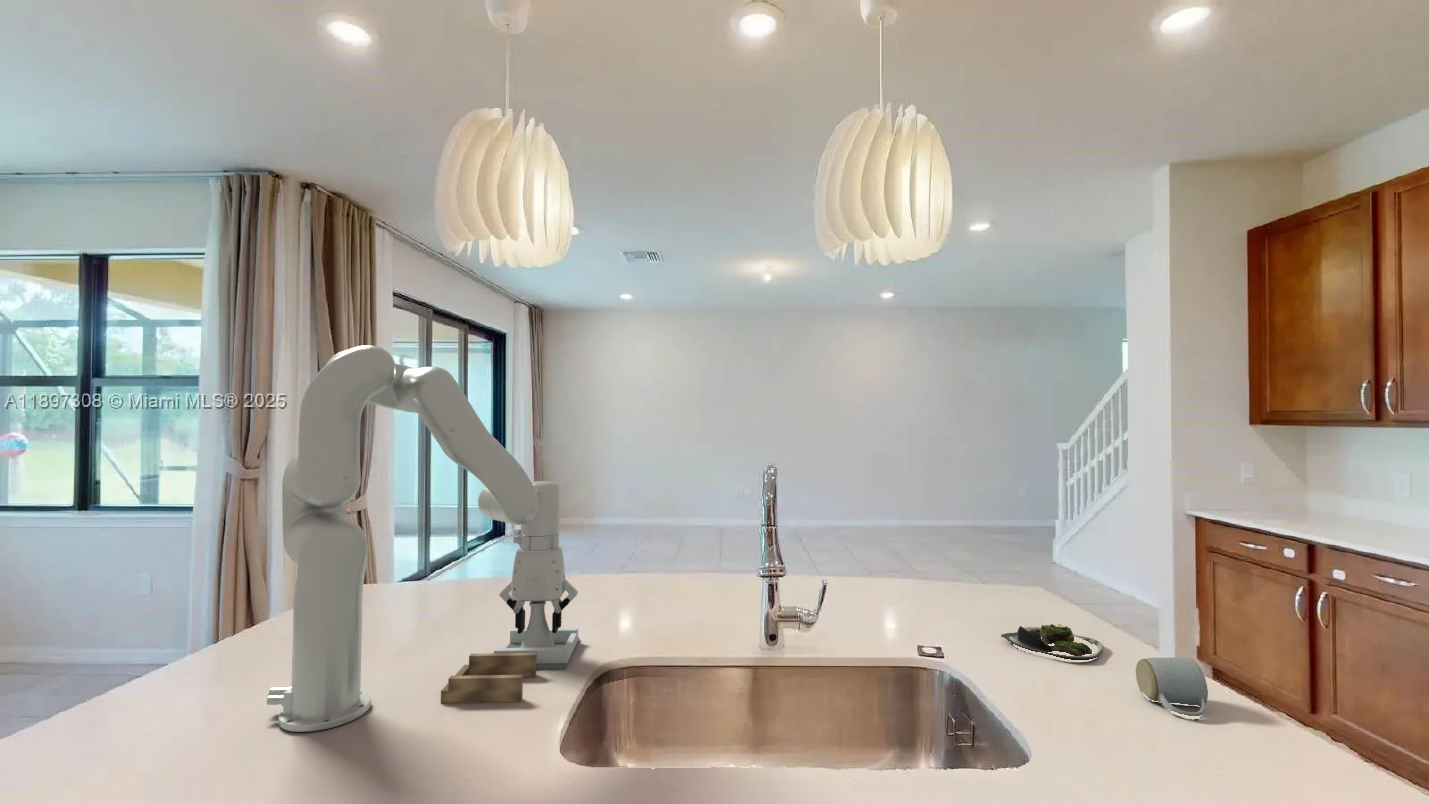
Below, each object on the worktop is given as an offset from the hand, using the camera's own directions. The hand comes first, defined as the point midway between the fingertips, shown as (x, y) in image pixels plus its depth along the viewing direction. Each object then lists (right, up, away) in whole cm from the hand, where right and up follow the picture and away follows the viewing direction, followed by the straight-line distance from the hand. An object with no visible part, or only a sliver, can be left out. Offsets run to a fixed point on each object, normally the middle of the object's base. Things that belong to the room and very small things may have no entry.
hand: (538, 630), depth 127 cm
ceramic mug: (+114, -5, -22) cm, 116 cm away
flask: (0, -4, 0) cm, 4 cm away
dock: (0, -5, 0) cm, 5 cm away
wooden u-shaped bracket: (-3, -4, -16) cm, 17 cm away
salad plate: (+108, -6, +6) cm, 108 cm away
